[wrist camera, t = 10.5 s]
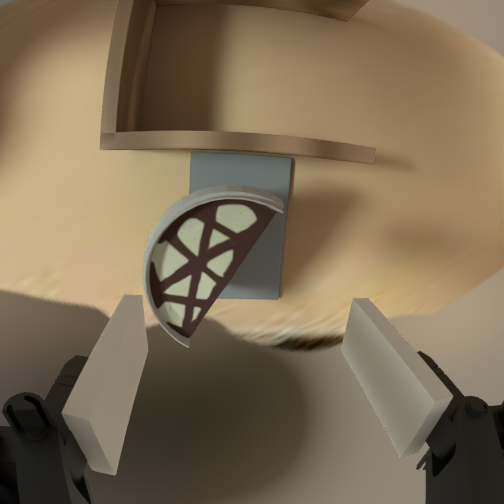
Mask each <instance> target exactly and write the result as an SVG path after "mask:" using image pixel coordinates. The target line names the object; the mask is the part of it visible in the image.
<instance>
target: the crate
mask: <svg viewBox="0 0 504 504" xmlns="http://www.w3.org/2000/svg"><path fill="white" fill-rule="evenodd" d="M368 1H369V0H119V4H118V9H117V13H116V18H115V22H114V27H113V33H112V38H111V44H110V50H109V56H108V63H107V70H106V78H105V86H104V95H103V106H102V119H101V136H100V150H146V149H195V150H227V151H246V152H262V153H275V154H287V155H297V156H307V157H316V158H325V159H333V160H340V161H350V162H360V163H368V164H374V163H375V151H376V149H375V148H369V147H364V146H358V145H352V144H345V143H339V142H332V141H325V140H317V139H309V138H300V137H291V136H281V135H270V134H257V133H242V132H221V131H141V129H142V114H143V102H144V91H145V81H146V72H147V63H148V56H149V48H150V42H151V35H152V29H153V23H154V17H155V12H156V6H159V5H173V4H235V5H250V6H261V7H270V8H279V9H286V10H293V11H299V12H305V13H310V14H316V15H321V16H325V17H330V18H334V19H339V20H343V21H347V20H348V19H349V18H351V17H352V16H353V15H354V14H355V13H356V12H357V11H358V10H359V9H360V8H361V7H362V6H364V5H365V4H366V3H367V2H368Z"/></svg>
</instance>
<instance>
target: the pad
mask: <svg viewBox="0 0 504 504" xmlns="http://www.w3.org/2000/svg"><path fill="white" fill-rule="evenodd" d="M290 170H291V158H284V157H272V156H258V155H242V154H221V153H191V162H190V189H189V194H191V193H193V192H195V191H198V190H201V189H205V188H208V187H212V186H219V185H244V186H249V187H254V188H258V189H261V190H263V191H266V192H269V193H271V194H273V195H275V196H276V197H278V198H280V199H282V200H283V205H284V208H283V209H282V211H283V213H280V212H278V211H276V214H275V215H274V216H273V218H272V219H271V221H270V222H269V224H268V225H267V227H266V228H265V230H264V231H263V232H262V234H261V235H260V237H259V238H258V240H257V241H256V243H255V244H254V245H253V247H252V248H251V250H250V251H249V253H248V254H247V256H246V257H245V259H244V260H243V262H242V263H241V265H240V266H239V268H238V269H237V271H236V272H235V274H234V275H233V277H232V279H231V280H230V282H229V283H228V284H227V286H226V287H225V288H224V290H223V291H222V292H221V294H220V295H219V296H218V298H221V299H272V300H278V297H279V288H280V278H281V269H282V259H283V249H284V239H285V228H286V217H287V206H288V194H289V182H290Z"/></svg>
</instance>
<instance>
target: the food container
mask: <svg viewBox="0 0 504 504" xmlns="http://www.w3.org/2000/svg"><path fill="white" fill-rule="evenodd" d="M283 208H284V205H283V200H282V199H280V198H278V197H276V196H275V195H273V194H271V193H269V192H266V191H263V190H261V189H258V188H254V187H249V186H244V185H219V186H212V187H208V188H205V189H201V190H198V191H195V192H193V193H191V194H189V195H187V196H185V197H183V198H182V199H181V200H179V201H178V202H176V203H175V204H174V205H172V206H171V207H170V208H169V209H168V210H167V211H166V212H165V213H164V214H163V215H162V216H161V218H160V219H159V220H158V222H157V223H156V225H155V226H154V228H153V230H152V232H151V234H150V236H149V239H148V241H147V245H146V249H145V252H144V262H143V286H144V290H145V294H146V298H147V301H148V303H149V305H150V308H151V310H152V312H153V314H154V316H155V317H156V319H157V320H158V322H159V323H160V325H161V326H162V327H163V328H164V329H165V330H166V331H167V332H168V334H170V335H171V336H172V337H173V338H174V339H176V340H177V341H178V342H179V343H181V344H183V345H185V346H186V347H188V348H189V344H190V339H191V335H192V334H193V332H194V331H195V329H196V327H197V326H198V324H199V323H200V321H201V320H202V318H203V317H204V316H205V314H206V313H207V311H208V310H209V309H210V307H211V306H212V304H213V303H214V302H215V300H216V299H217V298H218V296H219V295H220V294H221V292H222V291H223V290H224V288H225V287H226V286H227V284H228V283H229V282H230V280H231V279H232V277H233V275H234V274H235V272H236V271H237V269H238V268H239V266H240V265H241V263H242V262H243V260H244V259H245V257H246V256H247V254H248V253H249V251H250V250H251V248H252V247H253V245H254V244H255V243H256V241H257V240H258V238H259V237H260V235H261V234H262V232H263V231H264V230H265V228H266V227H267V225H268V224H269V222H270V221H271V219H272V218H273V216H274V215H275V214H276V211H278V212H280V213H283V211H282V209H283Z"/></svg>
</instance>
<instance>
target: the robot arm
mask: <svg viewBox="0 0 504 504" xmlns="http://www.w3.org/2000/svg"><path fill="white" fill-rule="evenodd" d="M341 351H342V353H343V355H344V356H345V358H346V360H347V362H348V364H349V365H350V367H351V369H352V370H353V372H354V374H355V376H356V377H357V379H358V381H359V383H360V385H361V387H362V388H363V390H364V392H365V394H366V395H367V397H368V399H369V401H370V402H371V405H372V406H373V408H374V410H375V412H376V414H377V415H378V417H379V419H380V421H381V423H382V425H383V426H384V428H385V430H386V432H387V434H388V436H389V437H390V439H391V441H392V443H393V445H394V447H395V449H396V450H397V452H398V454H399V456H400V458H401V457H404V456H408V455H410V454H414V453H416V452H419V450H420V449H421V447H422V446H423V444H424V443H425V441H426V442H427V444H428V446H429V447H430V448H429V450H428V451H427V453H426V454H425V455H424V456H423V458H422V459H421V460H420V462H419V463H418V464H417V468H416V469H420V468H421V466H422V465H423V464H424V462H425V461H426V465H425V466H424V468H423V470H426V504H504V401H503V403H502V404H501V405H497V406H488V404H487V403H486V402H484V401H483V400H482V399H480V398H478V397H474V396H466V397H465V396H464V395H463V394H462V393H461V392H460V391H459V389H458V388H457V387H456V386H455V385H454V384H453V383H452V381H451V380H450V379H449V378H448V377H447V375H446V374H444V372H443V371H442V370H441V369H440V368H438V365H437V364H436V363H435V362H434V361H433V360H432V358H430V357H429V356H427V355H426V354H424V353H423V352H421V351H419V352H416V351H415V350H414V349H413V348H412V347H411V345H410V344H409V343H408V342H407V341H406V340H405V338H404V337H403V336H402V335H401V334H400V333H399V332H398V331H397V329H396V328H395V327H394V326H393V325H392V324H391V323H390V322H389V321H388V319H387V318H386V317H385V316H384V315H383V314H382V313H381V312H380V311H379V310H378V308H377V307H376V306H375V305H374V304H373V303H372V302H371V301H370V300H369V299H368V298H354V299H353V300H352V305H351V309H350V314H349V318H348V322H347V327H346V331H345V335H344V339H343V343H342V347H341ZM147 353H148V343H147V336H146V327H145V319H144V309H143V299H142V295H124V296H123V298H122V300H121V301H120V303H119V305H118V306H117V308H116V310H115V312H114V313H113V315H112V317H111V318H110V320H109V322H108V324H107V326H106V327H105V329H104V331H103V333H102V334H101V336H100V338H99V340H98V342H97V344H96V345H95V347H94V349H93V351H92V353H91V355H90V357H84V356H77V355H76V356H74V358H72V359H71V360H69V361H68V362H67V363H66V364H65V365H64V367H63V369H62V370H61V372H60V376H58V377H57V379H56V381H55V384H53V386H52V388H51V389H50V391H49V393H48V395H47V397H46V399H45V400H43V399H42V398H41V397H40V396H39V395H37V394H34V393H26V392H24V393H19V394H16V395H14V396H13V397H11V398H9V399H8V401H7V402H6V403H5V404H4V407H3V410H2V412H3V414H4V416H5V418H6V419H7V421H8V422H9V424H10V426H11V427H7V426H0V504H95V502H94V499H93V496H92V492H91V489H90V485H89V482H88V478H87V476H86V474H85V472H84V469H85V466H86V462H88V464H89V466H90V467H91V468H92V470H93V471H98V472H103V473H107V474H112V475H116V472H117V467H118V463H119V458H120V454H121V450H122V445H123V441H124V437H125V433H126V429H127V425H128V421H129V417H130V413H131V410H132V406H133V402H134V398H135V395H136V391H137V388H138V384H139V380H140V377H141V374H142V370H143V367H144V363H145V360H146V357H147Z"/></svg>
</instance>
